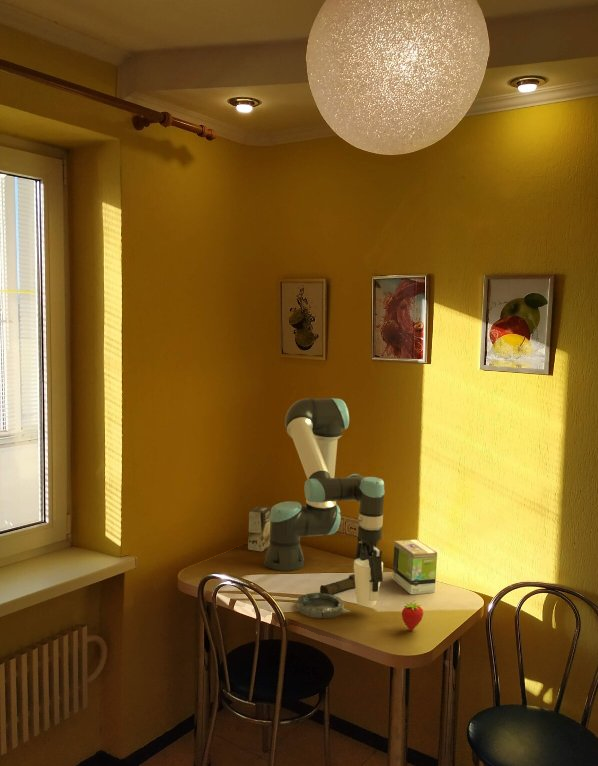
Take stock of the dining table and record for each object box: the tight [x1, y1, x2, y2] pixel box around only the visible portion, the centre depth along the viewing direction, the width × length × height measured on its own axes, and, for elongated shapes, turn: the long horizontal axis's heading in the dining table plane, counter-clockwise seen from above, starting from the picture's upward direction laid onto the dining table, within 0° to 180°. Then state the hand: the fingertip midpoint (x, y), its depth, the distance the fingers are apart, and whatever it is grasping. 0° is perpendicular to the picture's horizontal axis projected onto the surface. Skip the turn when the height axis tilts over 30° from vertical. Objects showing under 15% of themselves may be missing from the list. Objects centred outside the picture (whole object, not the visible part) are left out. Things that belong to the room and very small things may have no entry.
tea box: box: [392, 539, 438, 595], centre depth 250 cm, size 15×10×15 cm, turn 18°
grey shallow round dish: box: [296, 592, 345, 620], centre depth 229 cm, size 15×15×2 cm
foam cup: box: [353, 558, 384, 607], centre depth 224 cm, size 10×9×13 cm
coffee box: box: [247, 505, 272, 552], centre depth 285 cm, size 9×6×16 cm
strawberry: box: [401, 600, 424, 632], centre depth 214 cm, size 6×8×10 cm
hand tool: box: [319, 573, 356, 595], centre depth 244 cm, size 19×4×5 cm, turn 127°
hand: (366, 593), depth 225 cm, fingers closed on foam cup, 9 cm apart
